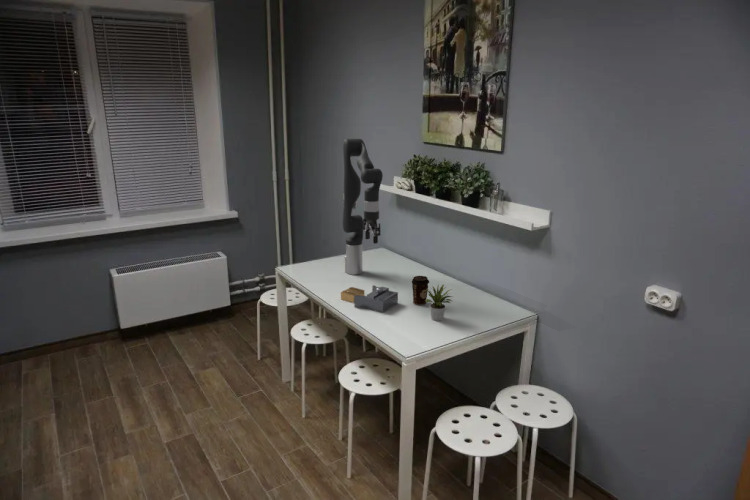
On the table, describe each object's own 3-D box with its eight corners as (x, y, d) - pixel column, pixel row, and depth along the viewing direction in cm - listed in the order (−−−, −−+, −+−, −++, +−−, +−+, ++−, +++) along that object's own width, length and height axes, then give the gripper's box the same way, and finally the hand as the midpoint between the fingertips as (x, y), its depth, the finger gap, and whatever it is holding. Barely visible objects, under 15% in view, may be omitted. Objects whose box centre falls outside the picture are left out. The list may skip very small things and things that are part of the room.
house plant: (429, 328, 215) (430, 293, 211) (414, 316, 228) (415, 282, 223) (457, 322, 221) (459, 288, 216) (441, 311, 233) (442, 278, 228)
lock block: (340, 299, 247) (340, 291, 246) (351, 294, 254) (351, 286, 253) (353, 303, 243) (353, 295, 242) (364, 297, 250) (364, 289, 249)
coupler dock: (353, 306, 238) (353, 289, 236) (373, 295, 252) (373, 279, 249) (380, 314, 230) (380, 296, 227) (399, 301, 244) (400, 285, 241)
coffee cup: (430, 301, 245) (431, 276, 241) (426, 307, 237) (427, 281, 234) (413, 298, 248) (414, 274, 244) (409, 305, 240) (409, 279, 236)
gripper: (358, 207, 249) (358, 238, 254) (371, 213, 237) (371, 245, 242) (371, 206, 252) (371, 236, 257) (385, 211, 240) (384, 243, 245)
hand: (371, 241), depth 249 cm, fingers open, 8 cm apart
